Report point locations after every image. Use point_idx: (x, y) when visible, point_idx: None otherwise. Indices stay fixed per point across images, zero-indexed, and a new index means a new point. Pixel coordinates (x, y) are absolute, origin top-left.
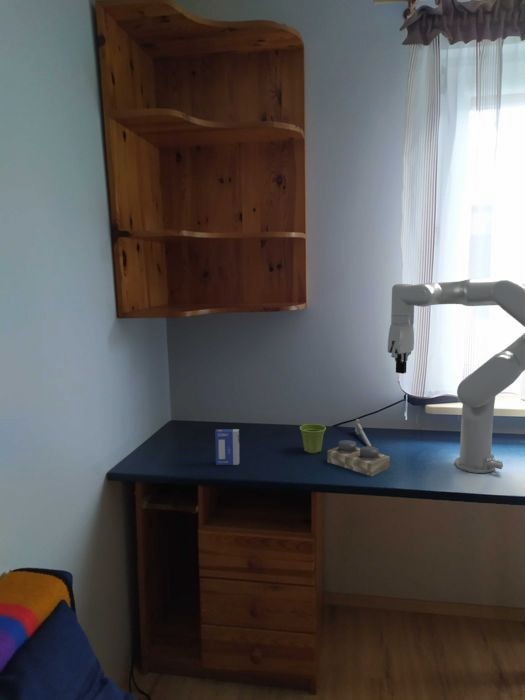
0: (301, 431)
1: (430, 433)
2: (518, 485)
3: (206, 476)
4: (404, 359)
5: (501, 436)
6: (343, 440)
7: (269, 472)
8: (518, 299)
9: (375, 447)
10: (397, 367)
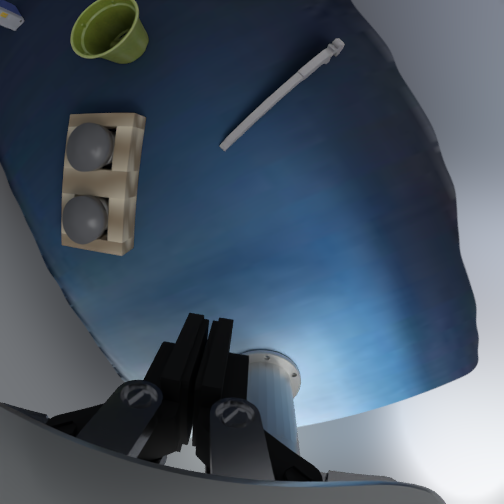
0: (86, 18)
1: (438, 231)
2: None
3: None
4: (205, 463)
5: (463, 354)
6: (95, 126)
7: (7, 86)
8: None
9: (99, 225)
10: (157, 361)
